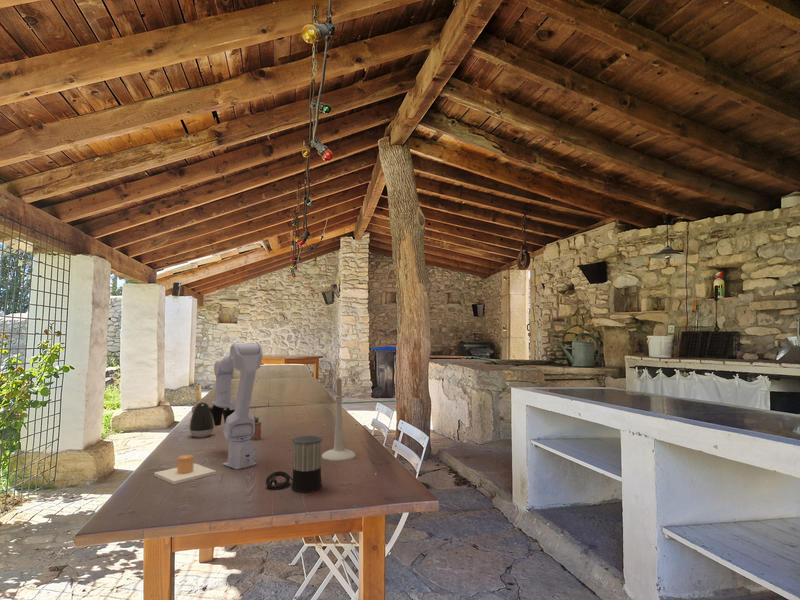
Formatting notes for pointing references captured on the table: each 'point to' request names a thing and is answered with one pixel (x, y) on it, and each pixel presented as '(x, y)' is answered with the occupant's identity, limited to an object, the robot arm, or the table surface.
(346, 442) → the table surface
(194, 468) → the post board
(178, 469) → the cap
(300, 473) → the milk frother
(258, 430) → the lighter
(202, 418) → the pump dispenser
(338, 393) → the candlestick
